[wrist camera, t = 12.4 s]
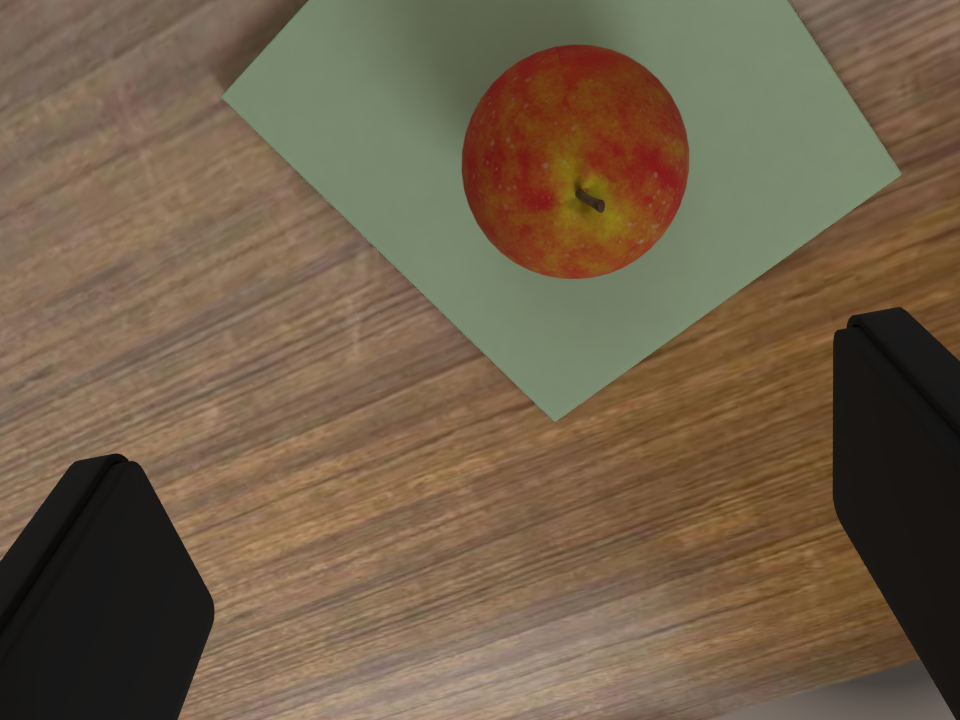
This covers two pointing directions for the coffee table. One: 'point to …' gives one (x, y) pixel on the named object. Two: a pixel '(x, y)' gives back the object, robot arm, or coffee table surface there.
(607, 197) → the fruit
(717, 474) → the coffee table surface
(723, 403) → the coffee table surface
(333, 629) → the coffee table surface
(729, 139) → the mat
